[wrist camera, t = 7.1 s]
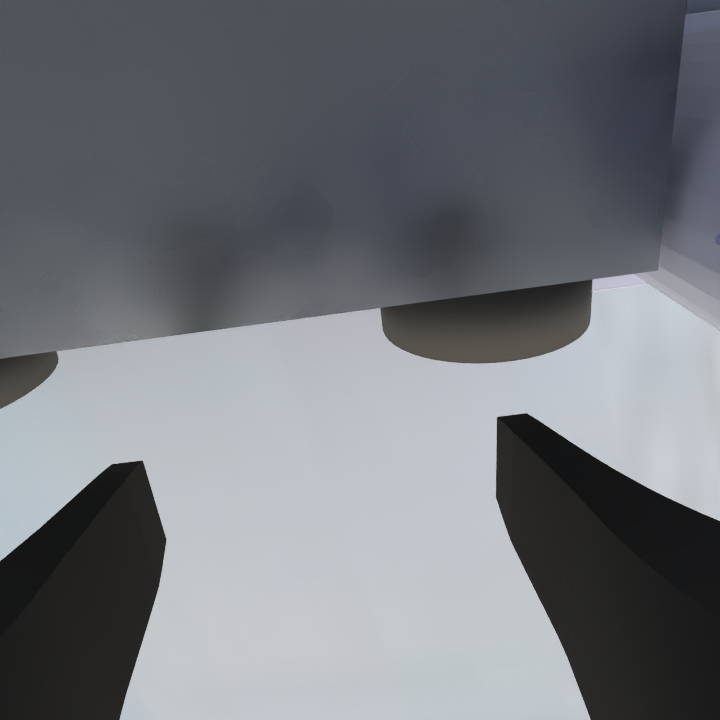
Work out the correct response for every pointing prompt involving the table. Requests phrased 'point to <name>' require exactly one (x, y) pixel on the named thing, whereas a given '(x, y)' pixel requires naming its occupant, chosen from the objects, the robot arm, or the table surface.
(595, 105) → the trolley
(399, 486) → the table surface
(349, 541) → the table surface
